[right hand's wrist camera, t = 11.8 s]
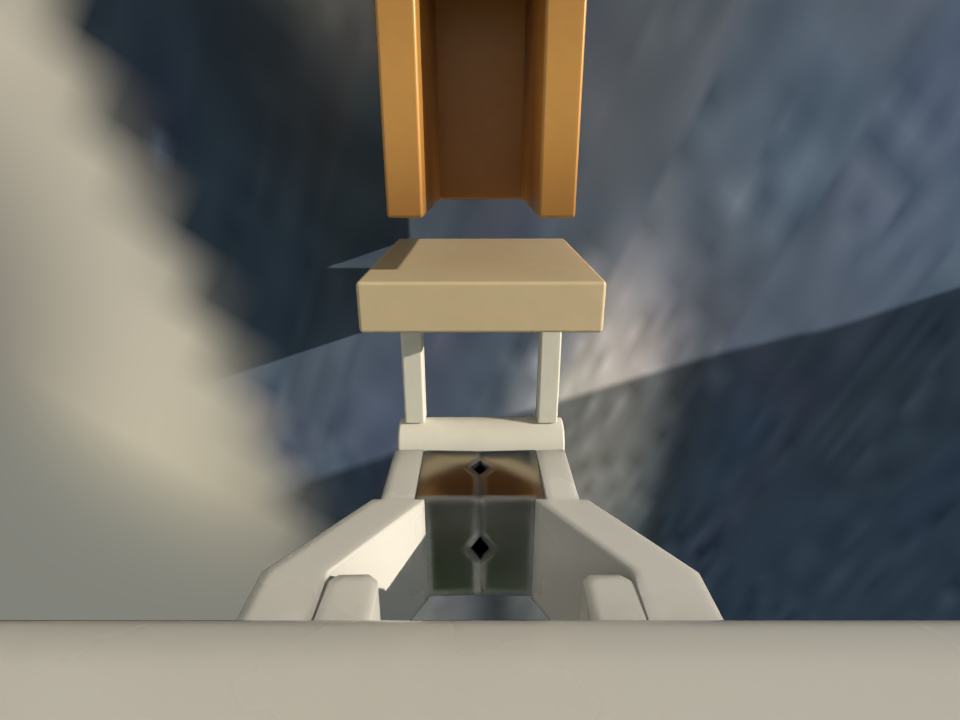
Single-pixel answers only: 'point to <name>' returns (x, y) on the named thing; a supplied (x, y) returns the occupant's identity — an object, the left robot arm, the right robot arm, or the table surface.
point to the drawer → (480, 196)
